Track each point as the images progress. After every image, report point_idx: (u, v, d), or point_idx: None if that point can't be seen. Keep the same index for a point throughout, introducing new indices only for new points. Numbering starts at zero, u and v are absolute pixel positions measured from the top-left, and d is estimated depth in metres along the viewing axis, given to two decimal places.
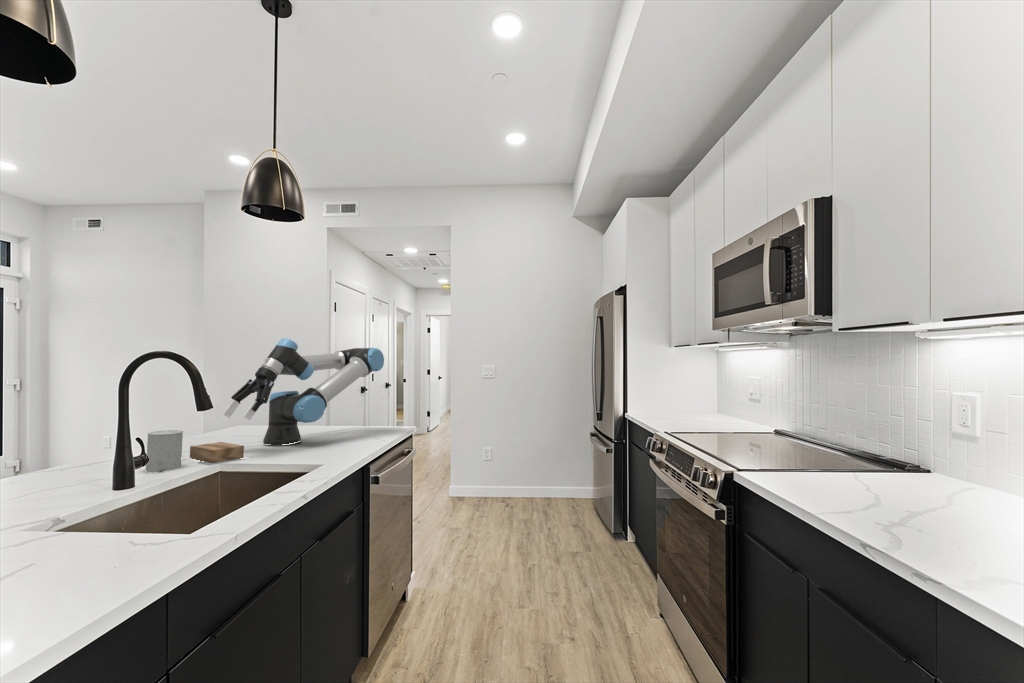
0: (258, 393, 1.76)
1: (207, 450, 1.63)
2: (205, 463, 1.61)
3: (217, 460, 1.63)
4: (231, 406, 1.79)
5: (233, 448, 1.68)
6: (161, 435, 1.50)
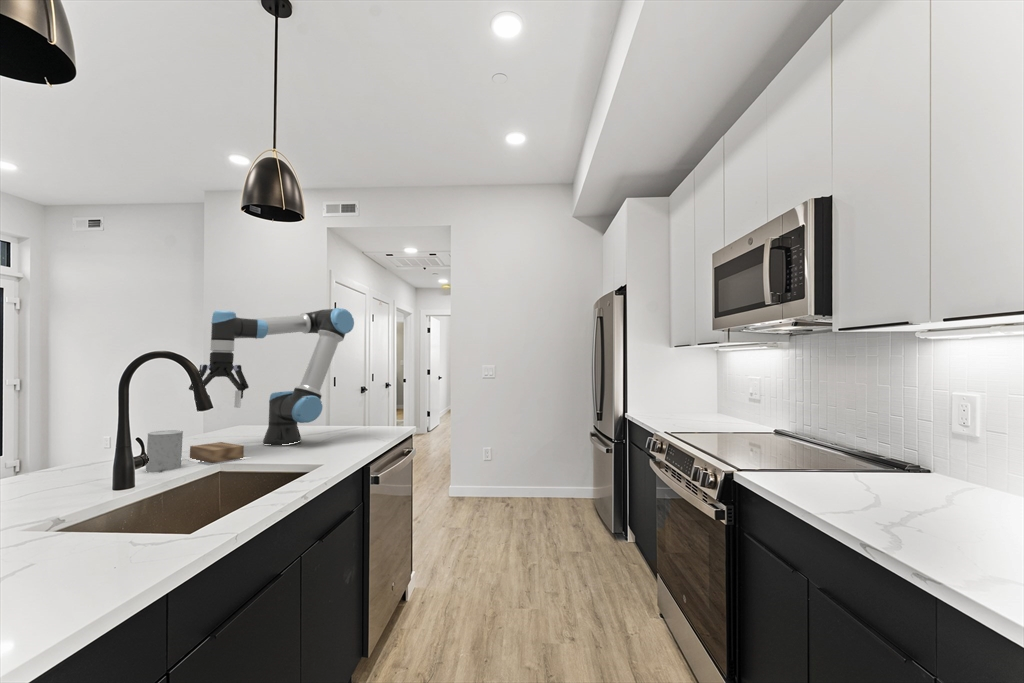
0: None
1: (207, 450, 1.63)
2: (205, 463, 1.61)
3: (217, 460, 1.63)
4: (235, 397, 1.77)
5: (233, 448, 1.68)
6: (161, 435, 1.50)
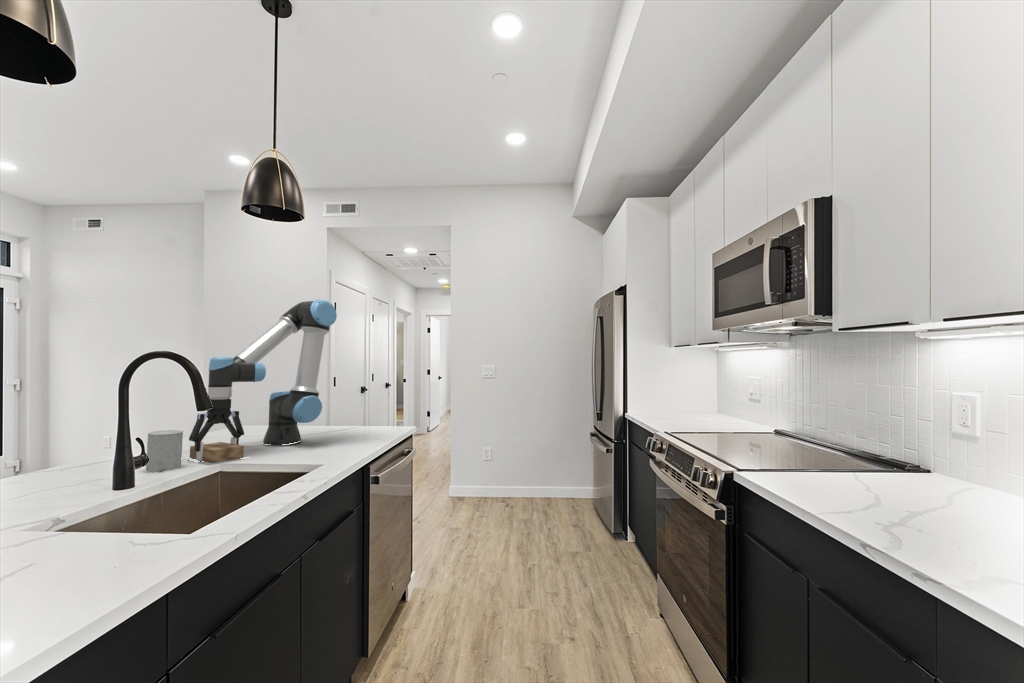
0: None
1: (207, 450, 1.63)
2: (205, 463, 1.61)
3: (217, 460, 1.63)
4: None
5: (233, 448, 1.68)
6: (161, 435, 1.50)
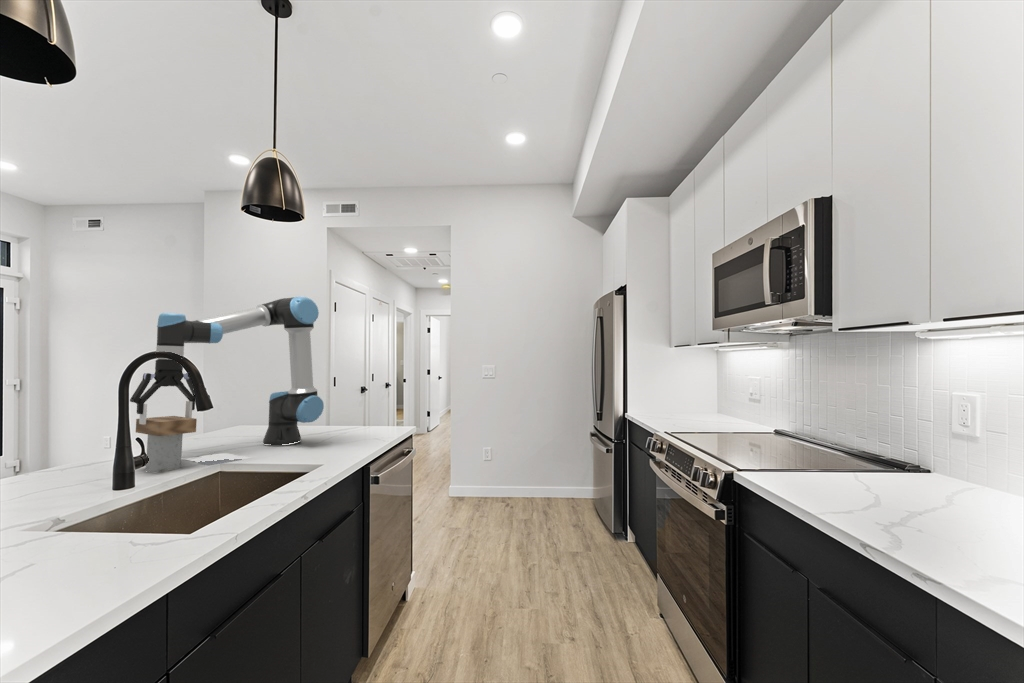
0: None
1: (153, 422, 1.47)
2: (205, 463, 1.61)
3: (164, 433, 1.47)
4: (186, 409, 1.60)
5: (184, 421, 1.52)
6: None
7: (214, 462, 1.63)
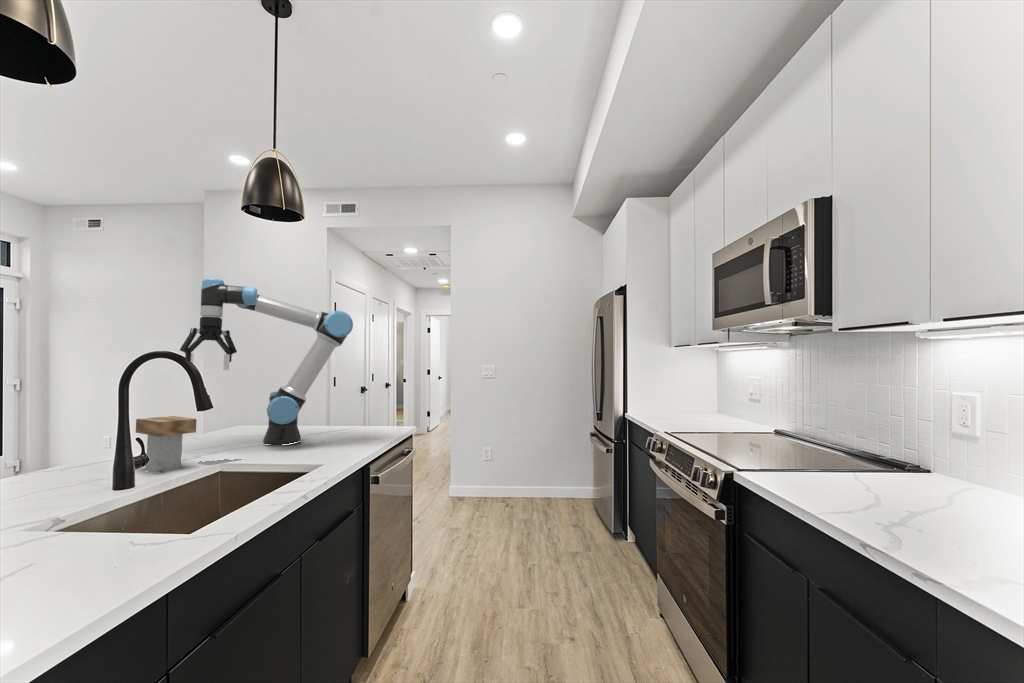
0: None
1: (153, 422, 1.47)
2: (205, 463, 1.61)
3: (164, 433, 1.47)
4: (224, 360, 1.89)
5: (184, 421, 1.52)
6: None
7: (214, 462, 1.63)
